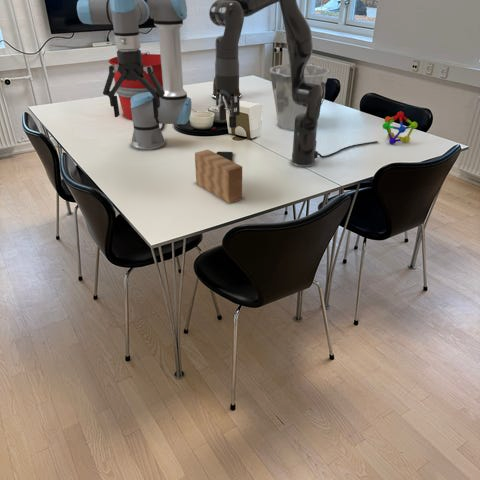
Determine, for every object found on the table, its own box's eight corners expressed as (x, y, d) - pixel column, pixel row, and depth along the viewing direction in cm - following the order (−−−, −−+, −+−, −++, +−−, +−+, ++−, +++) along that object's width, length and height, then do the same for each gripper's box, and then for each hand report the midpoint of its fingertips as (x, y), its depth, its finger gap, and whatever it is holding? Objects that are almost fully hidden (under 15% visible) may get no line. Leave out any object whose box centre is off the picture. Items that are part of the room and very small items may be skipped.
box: (196, 183, 171) (194, 152, 164) (208, 179, 174) (207, 149, 167) (229, 203, 157) (228, 170, 150) (242, 198, 160) (242, 166, 153)
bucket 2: (296, 138, 215) (301, 78, 201) (255, 124, 234) (256, 68, 219) (335, 125, 232) (342, 70, 217) (294, 113, 251) (297, 61, 236)
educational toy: (377, 146, 209) (379, 114, 202) (384, 138, 219) (386, 107, 211) (411, 149, 202) (415, 116, 195) (417, 141, 212) (420, 109, 204)
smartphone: (214, 164, 185) (216, 151, 198) (214, 166, 185) (216, 152, 198) (232, 164, 185) (233, 151, 198) (232, 166, 185) (233, 153, 198)
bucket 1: (122, 105, 264) (115, 51, 248) (181, 105, 263) (177, 51, 248) (106, 122, 235) (96, 62, 219) (171, 123, 234) (167, 63, 218)
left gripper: (85, 50, 137) (97, 118, 148) (164, 52, 135) (170, 121, 146) (94, 46, 143) (105, 112, 154) (170, 48, 141) (175, 114, 153)
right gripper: (247, 76, 134) (246, 128, 143) (229, 67, 145) (229, 116, 154) (224, 78, 131) (225, 131, 140) (207, 69, 142) (209, 119, 151)
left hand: (136, 116), depth 150 cm, fingers open, 13 cm apart
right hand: (227, 123), depth 147 cm, fingers open, 8 cm apart
